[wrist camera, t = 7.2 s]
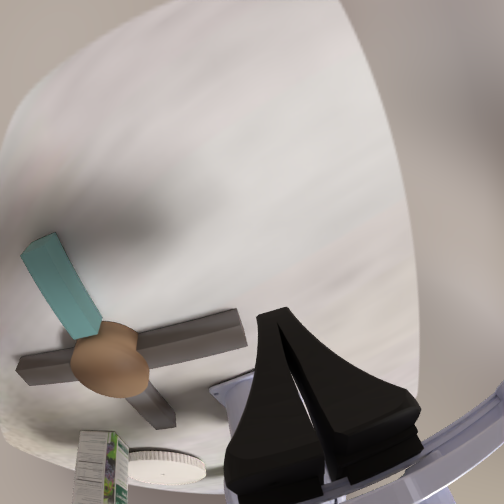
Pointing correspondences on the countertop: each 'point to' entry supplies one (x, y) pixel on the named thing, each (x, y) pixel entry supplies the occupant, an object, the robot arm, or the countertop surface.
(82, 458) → the syrup box
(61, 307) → the teal rectangular block
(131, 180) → the countertop surface
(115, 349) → the grey brown t-shaped piece
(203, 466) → the plastic lid
